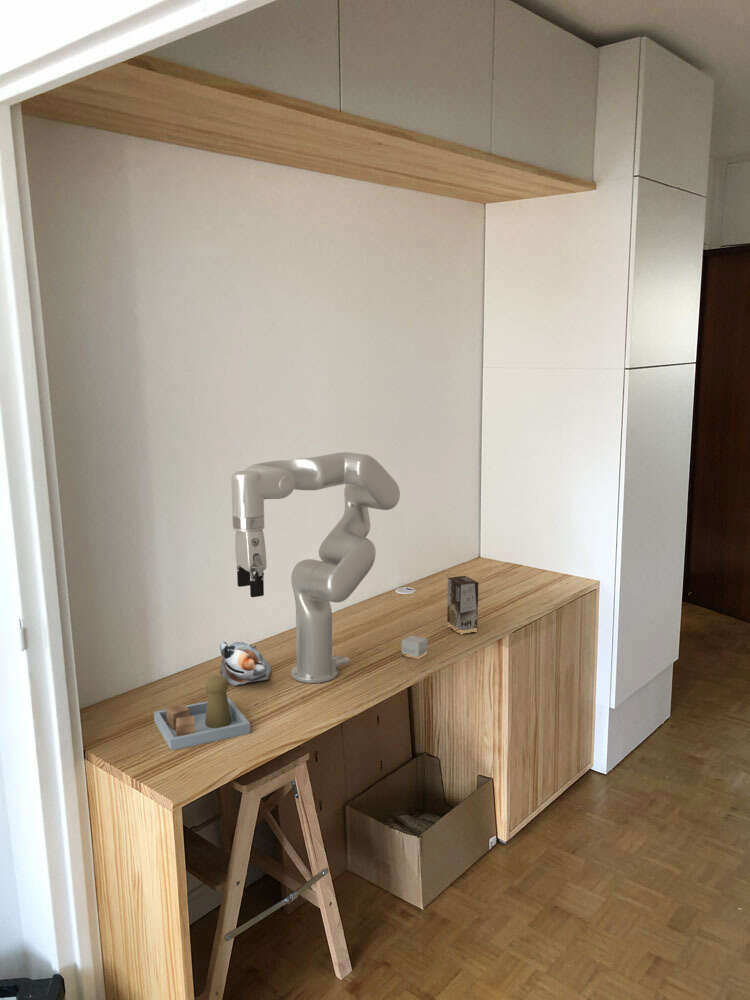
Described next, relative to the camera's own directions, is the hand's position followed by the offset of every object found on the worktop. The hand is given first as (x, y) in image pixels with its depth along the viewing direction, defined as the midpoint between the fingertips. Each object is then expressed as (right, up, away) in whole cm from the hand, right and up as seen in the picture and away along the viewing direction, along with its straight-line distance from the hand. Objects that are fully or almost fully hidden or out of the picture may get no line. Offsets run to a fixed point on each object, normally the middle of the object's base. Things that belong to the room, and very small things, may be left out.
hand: (250, 591), depth 202 cm
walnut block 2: (-12, -31, -16) cm, 37 cm away
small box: (+42, -23, +35) cm, 59 cm away
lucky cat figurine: (-3, -26, +17) cm, 31 cm away
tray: (-10, -31, -11) cm, 34 cm away
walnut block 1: (-15, -30, -10) cm, 35 cm away
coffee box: (+58, -18, +56) cm, 83 cm away
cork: (-6, -30, -8) cm, 32 cm away
